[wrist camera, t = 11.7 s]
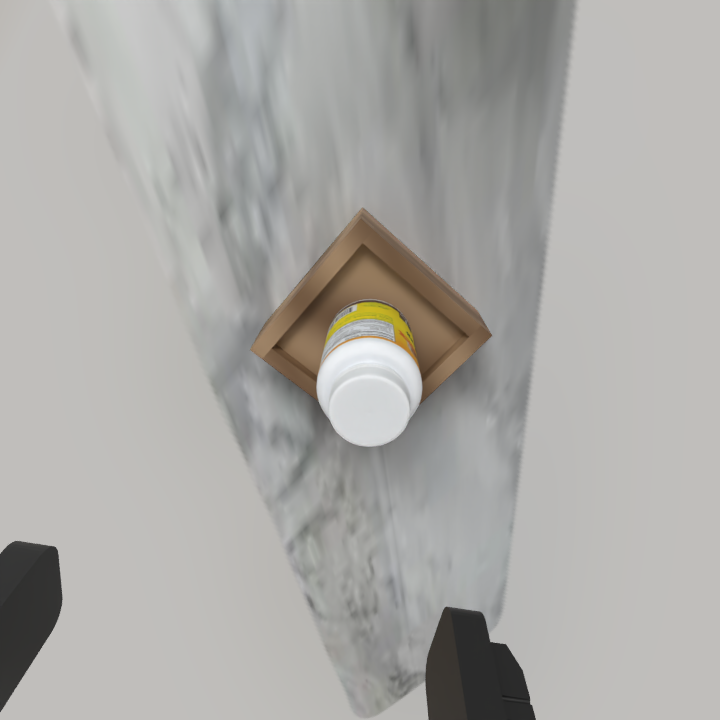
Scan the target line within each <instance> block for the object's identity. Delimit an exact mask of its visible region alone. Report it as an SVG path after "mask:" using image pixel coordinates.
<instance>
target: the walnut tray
mask: <svg viewBox="0 0 720 720" xmlns="http://www.w3.org/2000/svg"><path fill="white" fill-rule="evenodd" d="M365 299H375V300H380V301H384V302H386V303H389V304H391V305H393V306H394V307H396V308H397V309H398V310H399V311H400V312H401V313H402V314H403V315H404V316H405V318H406V319H407V321H408V323H409V326H410V328H411V332H412V335H413V341H414V345H415V349H416V354H417V359H418V363H419V369H420V373H421V378H422V396H421V400H420V403H419V405H420V404H421V403H422V402H423V401H424V400H425V399H426V398H427V397H428V396H429V395H430V394H431V393H432V392H433V391H434V390H435V389H437V388H438V387H439V386H440V385H441V384H442V383H443V382H444V381H445V380H446V379H447V378H448V377H449V376H450V375H451V374H452V373H453V372H454V371H455V370H456V369H458V368H459V367H460V366H461V365H462V364H463V363H464V362H465V361H466V360H467V359H468V358H469V357H470V356H471V355H472V354H473V353H474V352H475V351H476V350H477V349H479V348H480V347H481V346H482V345H483V344H484V343H485V342H486V341H487V340H488V339H489V338H490V337H491V336H492V335H491V333H490V331H489V330H488V328H487V326H486V324H485V323H484V321H483V319H482V318H481V316H480V314H479V313H478V311H477V310H476V309H475V308H474V307H473V306H472V305H470V304H469V303H468V302H467V301H466V300H465V299H464V298H463V297H462V296H460V295H459V294H458V293H457V292H456V291H455V290H454V289H453V288H452V287H450V286H449V285H448V284H447V283H446V282H445V281H444V280H443V279H442V278H440V277H439V276H438V275H437V274H436V273H435V272H434V271H433V270H432V269H430V268H429V267H428V266H427V265H426V264H425V263H424V262H423V261H422V260H420V259H419V258H418V257H417V256H416V255H415V254H414V253H413V252H412V251H410V250H409V249H408V248H407V247H406V246H405V245H404V244H403V243H402V242H400V241H399V240H398V239H397V238H396V237H395V236H394V235H393V234H392V233H390V232H389V231H388V230H387V229H386V228H385V227H384V226H383V225H382V224H380V223H379V222H378V221H377V220H376V219H375V218H374V217H373V216H372V215H370V214H369V213H368V212H367V211H366V210H365V209H364V208H363V207H362V209H361V210H360V211H359V212H358V213H357V215H356V216H355V217H354V218H353V219H352V221H351V222H350V223H349V224H348V225H347V226H346V228H345V229H344V230H343V231H342V232H341V234H340V235H339V236H338V237H337V238H336V240H335V241H334V242H333V243H332V244H331V246H330V247H329V248H328V249H327V250H326V251H325V253H324V254H323V255H322V256H321V257H320V259H319V260H318V261H317V262H316V263H315V265H314V266H313V267H312V268H311V269H310V271H309V272H308V273H307V274H306V275H305V276H304V278H303V279H302V280H301V281H300V282H299V284H298V285H297V286H296V287H295V288H294V290H293V291H292V292H291V293H290V294H289V296H288V297H287V298H286V299H285V300H284V301H283V303H282V304H281V305H280V306H279V307H278V309H277V310H276V311H275V312H274V313H273V315H272V316H271V317H270V318H269V319H268V321H267V322H266V323H265V324H264V326H263V328H262V329H261V331H260V333H259V335H258V336H257V338H256V340H255V342H254V343H253V345H252V347H251V349H250V350H251V351H252V352H254V353H255V354H256V355H258V356H259V357H260V358H262V359H263V360H264V361H266V362H267V363H268V364H270V365H271V366H272V367H274V368H275V369H276V370H277V371H279V372H280V373H281V374H283V375H284V376H285V377H287V378H288V379H289V380H291V381H292V382H293V383H295V384H296V385H297V386H299V387H300V388H301V389H303V390H304V391H305V392H307V393H308V394H309V395H311V396H312V397H313V398H315V399H316V400H317V401H318V397H317V389H316V386H317V376H318V372H319V367H320V362H321V358H322V354H323V350H324V346H325V342H326V337H327V333H328V330H329V327H330V324H331V322H332V320H333V318H334V317H335V316H336V314H337V313H338V312H339V311H340V310H341V309H343V308H344V307H345V306H347V305H349V304H351V303H353V302H356V301H359V300H365ZM318 402H319V401H318Z"/></svg>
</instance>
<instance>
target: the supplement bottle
mask: <svg viewBox="0 0 720 720" xmlns="http://www.w3.org/2000/svg"><path fill="white" fill-rule="evenodd" d="M316 389H317V397H318V401H319V403H320V406H321V408H322V410H323V411H324V413H325V414H326V416H327V417H328V418H329V419H330V422H331V424H332V426H333V428H334V429H335V431H336V432H337V433H338V434H339V435H340V436H341V437H342V438H343V439H345V440H346V441H348V442H350V443H352V444H355V445H359V446H364V447H375V446H381V445H384V444H387V443H389V442H391V441H393V440H394V439H396V438H397V437H398V436H399V435H400V434H401V433H402V432H403V431H404V429H405V428H406V426H407V424H408V421H409V419H410V418H411V417H412V416H413V415H414V413H415V411H416V410H417V408H418V406H419V403H420V400H421V396H422V378H421V373H420V369H419V363H418V359H417V354H416V349H415V345H414V341H413V335H412V332H411V328H410V326H409V323H408V321H407V319H406V318H405V316H404V315H403V314H402V313H401V312H400V311H399V310H398V309H397V308H396V307H394V306H393V305H391V304H389V303H386V302H384V301H380V300H375V299H365V300H359V301H356V302H353V303H351V304H349V305H347V306H345V307H344V308H343V309H341V310H340V311H339V312H338V313H337V314H336V316H335V317H334V318H333V320H332V322H331V324H330V327H329V330H328V333H327V337H326V342H325V346H324V350H323V354H322V358H321V362H320V367H319V372H318V376H317V386H316Z"/></svg>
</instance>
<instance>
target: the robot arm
mask: <svg viewBox="0 0 720 720" xmlns="http://www.w3.org/2000/svg"><path fill="white" fill-rule="evenodd" d="M61 606H62V588H61V578H60V567H59V556H58V551H57V549H56V547H54V546H47V545H41V544H33V543H27V542H21V541H15V542H12V543H11V544H9V545H8V546H7V547H6V548H5V549H4V550H3V551H2V552H1V554H0V712H1V710H2V709H3V707H4V706H5V704H6V702H7V701H8V699H9V698H10V696H11V695H12V693H13V692H14V690H15V688H16V687H17V685H18V684H19V682H20V680H21V679H22V677H23V676H24V674H25V672H26V671H27V670H28V668H29V666H30V665H31V663H32V662H33V660H34V659H35V657H36V655H37V654H38V652H39V651H40V649H41V648H42V646H43V645H44V643H45V641H46V640H47V638H48V637H49V635H50V634H51V632H52V630H53V628H54V627H55V624H56V622H57V620H58V617H59V614H60V611H61ZM426 695H427V705H428V717H429V720H536V718H535V715H534V711H533V707H532V705H530V696H529V692H528V689H527V685H526V682H525V678H524V674H523V670H522V669H521V667H520V666H519V664H518V662H517V661H516V660H515V658H514V656H513V655H512V653H511V651H510V650H509V648H508V647H507V645H506V644H500V643H493V642H490V639H489V634H488V630H487V625H486V621H485V618H484V615H483V614H482V613H481V612H478V611H472V610H465V609H458V608H452V607H445V608H444V610H443V612H442V615H441V618H440V621H439V624H438V627H437V630H436V633H435V636H434V638H433V641H432V644H431V647H430V650H429V653H428V657H427V664H426Z"/></svg>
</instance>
